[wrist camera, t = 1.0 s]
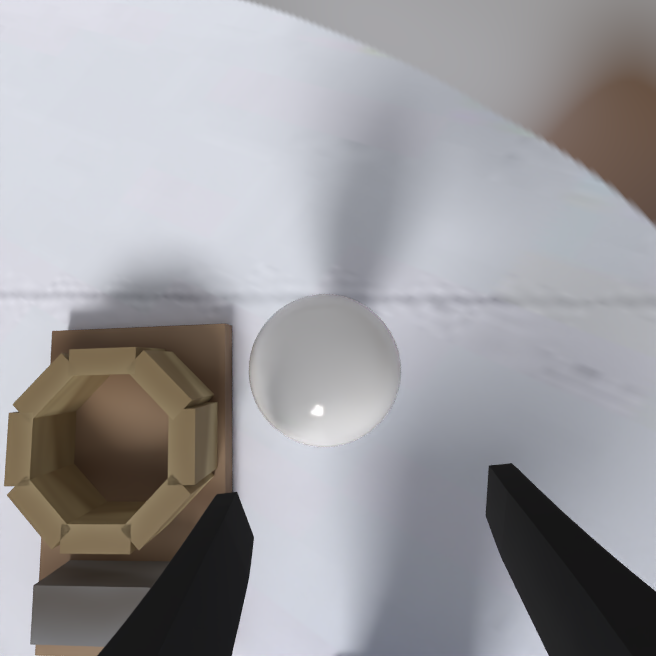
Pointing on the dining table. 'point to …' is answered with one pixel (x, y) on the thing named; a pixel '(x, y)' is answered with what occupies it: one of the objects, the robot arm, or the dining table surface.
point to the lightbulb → (324, 370)
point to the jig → (117, 468)
